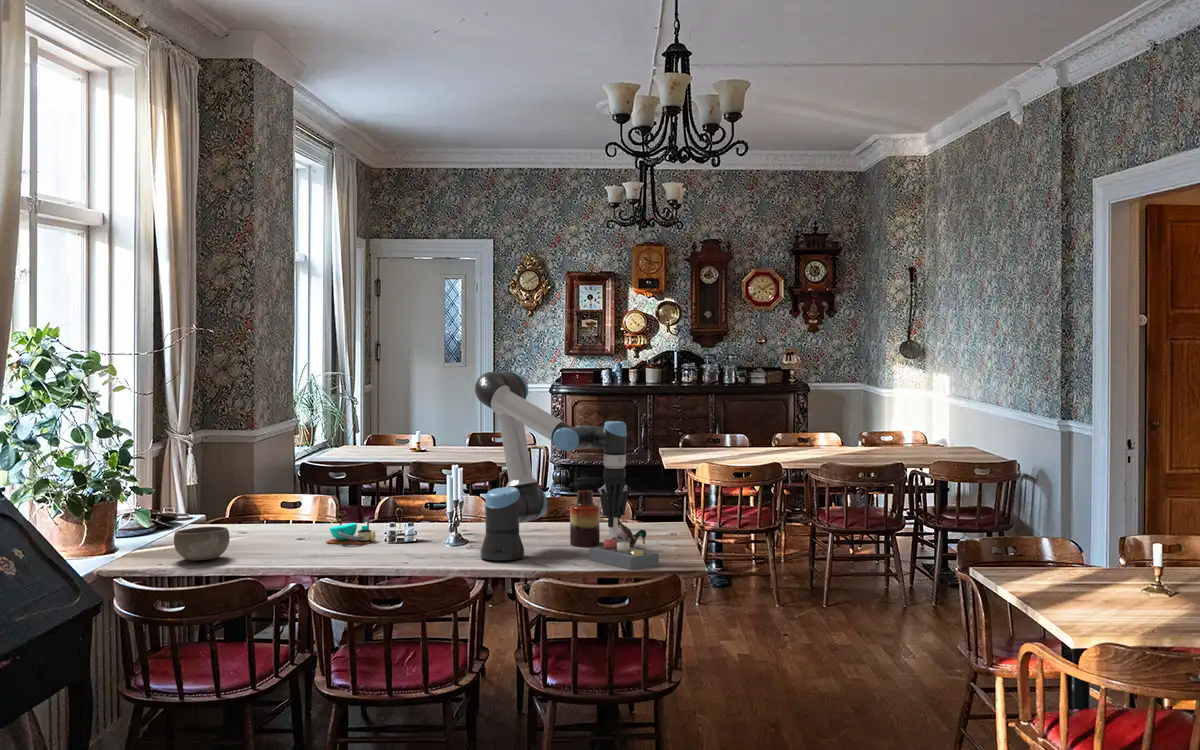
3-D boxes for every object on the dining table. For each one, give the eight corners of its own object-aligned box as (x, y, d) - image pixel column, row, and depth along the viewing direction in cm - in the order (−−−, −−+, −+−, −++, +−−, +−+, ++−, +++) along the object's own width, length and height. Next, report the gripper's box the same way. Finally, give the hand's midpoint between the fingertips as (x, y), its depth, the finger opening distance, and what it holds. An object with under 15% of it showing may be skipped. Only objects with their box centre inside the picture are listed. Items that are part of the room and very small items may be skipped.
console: (630, 569, 330) (630, 557, 330) (589, 560, 347) (589, 548, 347) (658, 565, 337) (658, 553, 337) (616, 556, 355) (616, 544, 355)
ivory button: (622, 554, 339) (622, 544, 339) (614, 553, 343) (614, 542, 343) (632, 553, 342) (632, 542, 342) (624, 551, 345) (624, 541, 345)
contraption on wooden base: (365, 548, 371) (365, 507, 371) (318, 547, 374) (318, 506, 374) (379, 542, 385) (379, 502, 385) (333, 541, 388) (333, 501, 388)
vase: (605, 546, 375) (605, 491, 375) (584, 549, 368) (584, 493, 368) (585, 543, 383) (585, 488, 383) (564, 546, 375) (564, 490, 375)
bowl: (170, 556, 353) (170, 527, 353) (224, 552, 362) (224, 524, 362) (177, 564, 338) (177, 534, 338) (233, 560, 347) (233, 530, 347)
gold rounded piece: (636, 562, 334) (636, 552, 334) (627, 561, 337) (627, 550, 337) (645, 561, 337) (645, 550, 337) (637, 559, 340) (637, 549, 340)
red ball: (609, 551, 345) (609, 541, 345) (601, 550, 348) (601, 539, 348) (618, 550, 347) (618, 540, 347) (611, 548, 351) (611, 538, 351)
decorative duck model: (654, 540, 366) (638, 501, 369) (644, 543, 359) (629, 503, 363) (621, 554, 373) (606, 516, 376) (611, 557, 366) (595, 518, 369)
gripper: (606, 469, 339) (605, 540, 339) (636, 467, 347) (635, 536, 347) (592, 466, 345) (591, 536, 345) (622, 465, 353) (621, 533, 353)
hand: (613, 536), depth 346 cm, fingers closed
